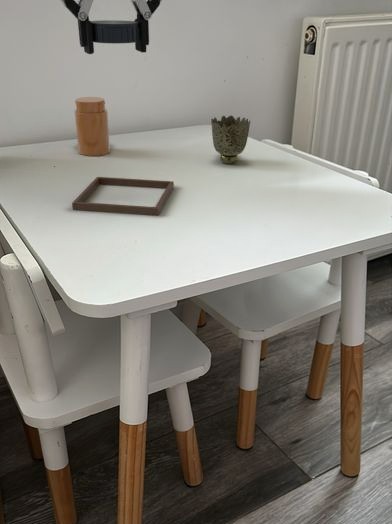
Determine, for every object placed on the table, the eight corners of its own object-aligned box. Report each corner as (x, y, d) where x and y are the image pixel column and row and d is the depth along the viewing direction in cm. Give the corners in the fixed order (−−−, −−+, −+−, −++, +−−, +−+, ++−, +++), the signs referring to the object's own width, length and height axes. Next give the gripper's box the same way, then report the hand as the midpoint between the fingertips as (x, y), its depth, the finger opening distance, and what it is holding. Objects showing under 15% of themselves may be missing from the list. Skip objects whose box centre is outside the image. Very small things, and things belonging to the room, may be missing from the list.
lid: (121, 44, 75) (120, 24, 73) (79, 41, 77) (77, 22, 76) (149, 40, 80) (148, 22, 78) (108, 37, 82) (107, 19, 81)
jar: (74, 155, 112) (68, 101, 107) (83, 147, 118) (79, 95, 112) (105, 156, 112) (101, 103, 106) (113, 148, 117) (110, 97, 111)
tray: (73, 215, 85) (71, 202, 84) (98, 188, 96) (97, 176, 94) (158, 221, 83) (158, 208, 82) (173, 193, 94) (173, 181, 93)
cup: (225, 169, 106) (227, 125, 101) (202, 160, 111) (203, 117, 106) (255, 163, 109) (258, 120, 105) (231, 155, 114) (233, 113, 110)
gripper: (161, -102, 75) (164, 47, 85) (29, -111, 69) (49, 51, 79) (181, -108, 69) (181, 53, 79) (39, -118, 64) (59, 57, 74)
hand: (115, 51), depth 79 cm, fingers closed on lid, 7 cm apart
